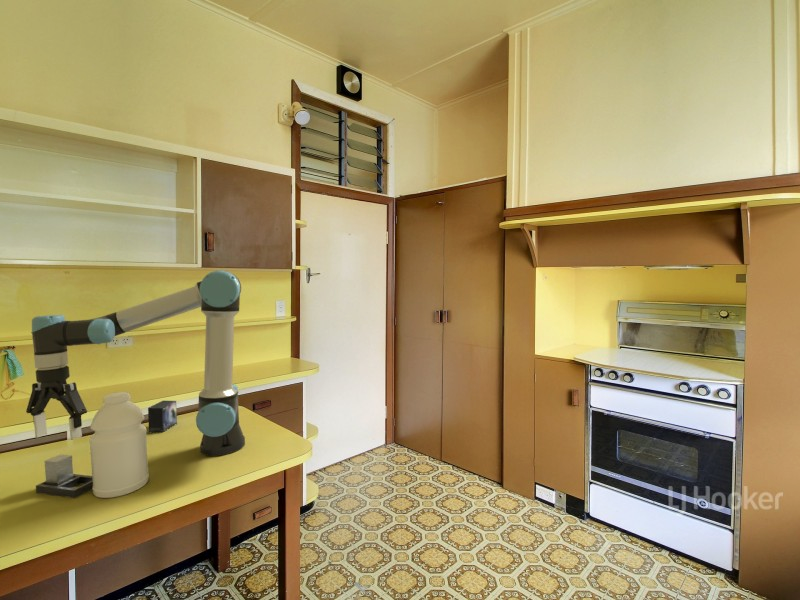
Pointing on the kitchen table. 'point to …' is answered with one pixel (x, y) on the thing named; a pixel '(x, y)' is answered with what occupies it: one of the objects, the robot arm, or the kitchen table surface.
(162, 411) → the small box
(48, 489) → the divided tray
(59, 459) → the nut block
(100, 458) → the bottle
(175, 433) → the kitchen table surface
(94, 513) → the kitchen table surface
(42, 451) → the kitchen table surface
